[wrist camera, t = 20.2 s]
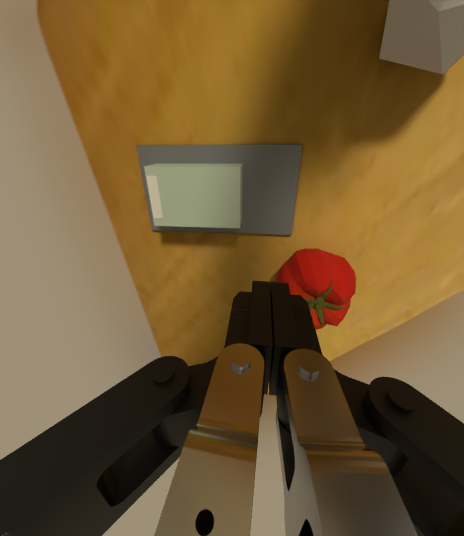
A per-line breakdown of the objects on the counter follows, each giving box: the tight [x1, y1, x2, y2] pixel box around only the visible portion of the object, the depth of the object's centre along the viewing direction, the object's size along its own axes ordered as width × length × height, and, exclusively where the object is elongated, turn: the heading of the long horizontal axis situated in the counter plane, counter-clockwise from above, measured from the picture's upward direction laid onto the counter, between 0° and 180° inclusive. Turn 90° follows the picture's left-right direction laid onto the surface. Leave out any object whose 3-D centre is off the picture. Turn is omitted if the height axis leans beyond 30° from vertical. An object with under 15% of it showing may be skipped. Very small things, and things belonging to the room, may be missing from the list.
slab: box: [144, 164, 243, 228], centre depth 29 cm, size 7×4×11 cm
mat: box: [137, 144, 303, 235], centre depth 31 cm, size 11×20×1 cm, turn 90°
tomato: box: [277, 249, 356, 330], centre depth 31 cm, size 11×11×9 cm
